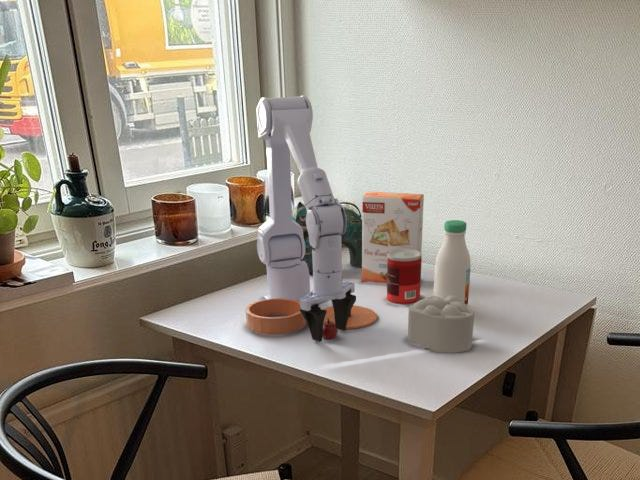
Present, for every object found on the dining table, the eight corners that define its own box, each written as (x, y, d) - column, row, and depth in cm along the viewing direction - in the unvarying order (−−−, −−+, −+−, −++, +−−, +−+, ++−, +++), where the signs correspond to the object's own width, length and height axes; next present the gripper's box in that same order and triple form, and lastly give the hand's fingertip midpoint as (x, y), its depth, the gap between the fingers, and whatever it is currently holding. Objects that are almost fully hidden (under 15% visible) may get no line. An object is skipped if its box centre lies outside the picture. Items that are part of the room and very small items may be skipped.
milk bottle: (457, 322, 159) (464, 228, 149) (426, 316, 163) (430, 223, 152) (472, 312, 165) (480, 220, 154) (441, 306, 168) (447, 216, 157)
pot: (296, 312, 165) (295, 295, 163) (313, 331, 155) (312, 313, 153) (241, 320, 161) (239, 302, 159) (255, 340, 151) (254, 321, 149)
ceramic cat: (299, 277, 187) (295, 194, 176) (290, 270, 192) (286, 189, 181) (369, 267, 194) (370, 187, 183) (359, 261, 199) (359, 182, 188)
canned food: (424, 297, 173) (426, 250, 167) (412, 308, 167) (413, 260, 161) (394, 293, 176) (395, 247, 170) (381, 303, 170) (382, 256, 164)
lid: (363, 306, 168) (363, 286, 166) (386, 326, 158) (386, 305, 155) (306, 314, 164) (305, 293, 162) (326, 335, 153) (326, 313, 151)
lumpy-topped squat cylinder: (429, 327, 157) (431, 287, 152) (482, 341, 150) (486, 300, 145) (401, 342, 150) (402, 301, 146) (455, 357, 143) (458, 315, 139)
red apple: (334, 334, 154) (333, 314, 151) (340, 341, 151) (339, 320, 148) (318, 337, 153) (317, 317, 150) (324, 344, 150) (322, 323, 147)
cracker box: (361, 283, 182) (361, 195, 171) (366, 276, 187) (366, 190, 176) (417, 287, 180) (420, 198, 168) (420, 280, 184) (424, 192, 173)
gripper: (318, 282, 137) (320, 350, 144) (366, 264, 146) (366, 328, 154) (290, 275, 141) (294, 341, 148) (339, 257, 150) (340, 321, 157)
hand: (329, 334), depth 151 cm, fingers open, 7 cm apart
